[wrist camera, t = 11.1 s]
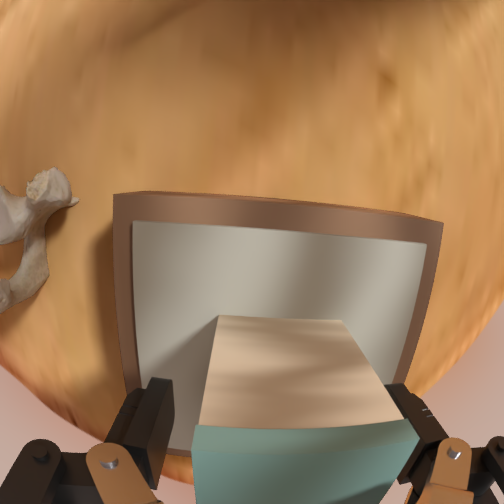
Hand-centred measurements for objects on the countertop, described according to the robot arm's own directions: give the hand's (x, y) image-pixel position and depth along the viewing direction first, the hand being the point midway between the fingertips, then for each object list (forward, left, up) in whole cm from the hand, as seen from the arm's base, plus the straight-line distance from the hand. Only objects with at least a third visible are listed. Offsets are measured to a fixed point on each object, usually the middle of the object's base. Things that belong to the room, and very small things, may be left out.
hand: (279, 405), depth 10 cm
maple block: (0, 0, -2) cm, 2 cm away
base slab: (0, 0, -7) cm, 7 cm away
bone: (+14, -5, -7) cm, 17 cm away
